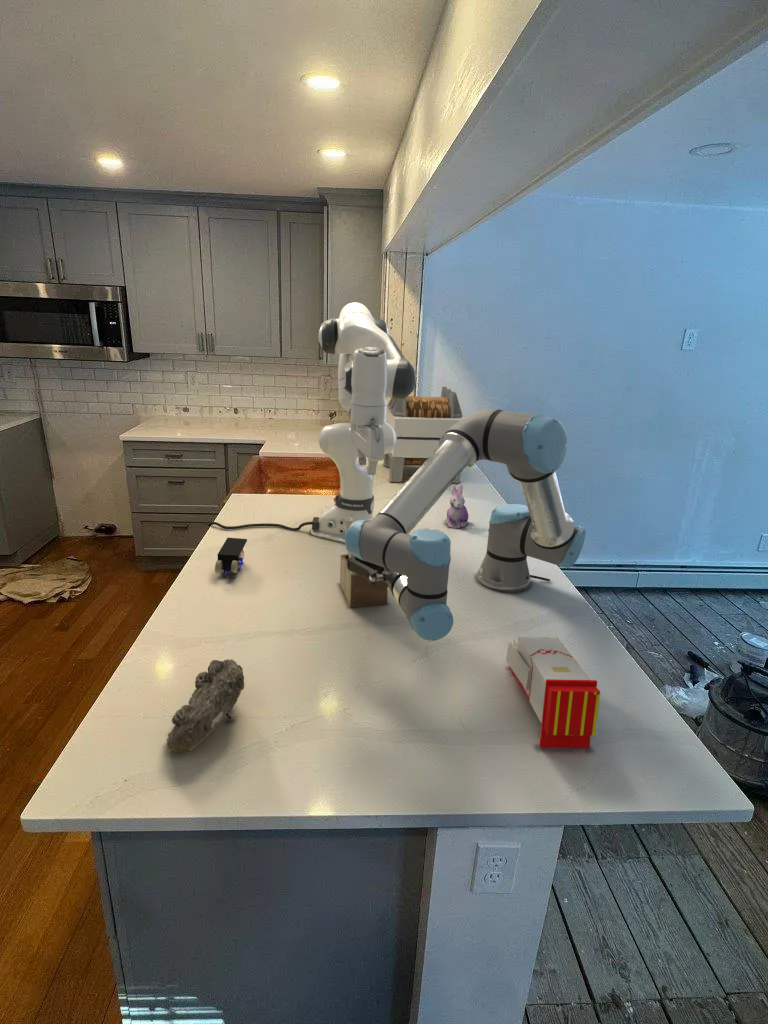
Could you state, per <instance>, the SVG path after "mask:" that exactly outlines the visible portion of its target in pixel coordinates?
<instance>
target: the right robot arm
mask: <svg viewBox="0 0 768 1024" xmlns="http://www.w3.org/2000/svg"><path fill="white" fill-rule="evenodd" d="M567 440H568V439H567V433H566V430H565V427H564V425H563V423H561V422H560V421H559V420H558V419H556V418H554V417H549V416H547V415H543V414H534V413H527V412H526V413H525V412H519V411H513V410H505V409H504V410H503V409H500V408H486V409H482V410H478V411H476V412H473V413H471V414H469V415H467V416H465V417H462V420H460V421H458V422H457V423H456V424H454V425H453V426H452V427H451V428H449V429H448V430H447V431H446V432H445V434H444V435H443V436H442V437H441V438H440V440H439V447H438V448H437V449H436V450H435V451H434V452H433V453H432V454H431V456H430V457H429V458H428V459H427V460H426V461H425V462H424V463H423V464H422V466H419V468H418V469H416V471H415V472H414V473H413V474H412V475H411V476H410V477H409V479H408V480H406V482H405V483H404V484H403V485H402V486H401V487H400V488H399V490H398V491H396V493H395V494H394V495H392V497H391V499H390V500H389V501H388V502H387V503H386V504H385V505H384V506H383V507H382V508H381V509H380V510H379V512H378V513H377V514H376V515H375V516H373V519H372V520H371V521H368V520H358V521H355V522H353V523H352V524H351V525H350V527H349V528H348V530H347V533H346V537H345V543H344V545H345V548H346V550H347V553H348V552H349V553H350V554H351V558H347V569H348V570H350V571H352V572H353V573H355V574H357V575H359V576H361V577H362V578H364V579H366V580H368V581H369V582H370V584H371V585H376V581H380V580H383V581H384V582H386V583H387V585H388V590H389V592H390V593H391V595H392V596H393V597H394V599H395V601H396V602H397V604H398V606H399V608H400V609H401V611H402V612H403V614H404V616H405V617H406V619H407V622H408V624H409V626H410V627H411V629H412V630H413V631H414V632H415V633H416V635H417V636H418V637H419V638H420V639H422V640H424V641H427V642H435V641H439V640H441V639H443V638H445V637H446V636H447V635H448V634H449V633H450V632H451V630H452V628H453V626H454V615H453V613H452V610H451V608H450V607H449V606H448V604H447V602H448V584H449V573H450V566H451V565H450V564H451V561H452V556H451V546H452V544H451V543H452V542H451V538H450V536H449V535H448V534H447V533H445V532H444V531H442V530H440V529H434V528H433V529H432V528H420V529H416V530H414V529H415V528H416V526H417V525H418V524H419V523H420V522H421V521H422V520H423V518H424V517H425V516H426V515H427V514H428V512H430V510H431V509H432V508H433V507H434V505H435V504H436V503H437V502H438V501H439V499H441V497H442V496H443V495H444V494H445V492H447V490H448V489H449V488H450V487H451V486H452V484H454V483H453V482H454V480H455V479H456V478H457V477H458V476H459V475H460V476H461V474H462V472H464V470H465V469H469V468H472V467H473V466H475V464H476V463H477V462H478V461H484V460H485V461H490V462H494V463H499V464H504V465H505V466H506V468H507V472H508V474H509V475H510V477H511V478H512V479H514V480H515V481H517V482H518V484H519V486H520V490H521V492H522V495H523V499H524V502H525V504H521V503H508V504H502V505H499V506H496V507H495V508H493V509H492V511H491V513H490V514H491V515H490V517H489V518H490V519H489V521H488V524H489V526H488V535H487V544H486V552H485V553H486V554H485V555H484V558H483V559H482V562H481V563H480V566H479V568H478V570H477V580H478V582H479V583H480V584H481V585H483V586H484V587H486V588H488V589H491V590H493V591H498V592H503V593H516V592H517V593H519V592H522V591H525V590H526V589H529V587H530V583H531V579H536V580H542V581H546V582H551V579H550V578H546V577H543V576H538V575H534V574H530V569H529V565H528V557H529V558H532V559H536V560H539V561H543V562H545V563H548V564H552V565H556V566H557V567H562V568H565V569H570V568H572V567H573V566H574V565H575V564H576V562H577V560H578V559H579V557H580V555H581V552H582V549H583V546H584V543H585V539H586V533H587V532H586V528H584V527H581V526H580V525H575V521H574V520H573V518H572V516H571V515H570V514H568V513H567V512H566V510H565V505H564V501H563V497H562V493H561V488H560V485H559V481H558V476H557V472H556V471H558V470H559V469H560V468H561V466H562V464H563V463H564V460H565V457H566V452H567V446H566V445H567V442H568V441H567ZM460 473H461V474H460ZM410 533H411V534H410ZM349 553H348V554H349ZM385 568H386V569H385Z"/></svg>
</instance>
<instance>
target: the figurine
mask: <svg viewBox="0 0 768 1024" xmlns="http://www.w3.org/2000/svg"><path fill="white" fill-rule="evenodd" d="M463 490H464V485H463V484H460V485H459V487H457V488H456V487H455V485H452V484H451V485H450V491H451V496H450V499H449V504H450V507H449V508H447V510H446V519H445V524H446V525H447V527H449V528H452V529H453V528H454V529H459V528H464V527H466V525H468V520H469V513H468V509H467V507H466V506H465V503H466V501H465V497H464V494H463Z"/></svg>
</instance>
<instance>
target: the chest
mask: <svg viewBox="0 0 768 1024" xmlns="http://www.w3.org/2000/svg"><path fill="white" fill-rule="evenodd" d="M347 558H349V553H347V554H340V562H339V563H340V564H339V565H340V567H339V568H340V569H339V575H340V576H339V586H340V587H341V589H342V592H343V595H344V596H345V599H346V601H347V604H348V606H349V607H350V608H358V607H368V606H377V605H379V606H380V605H388V590H389V588H388V585H387V583H386V582H384V581H383V580H380V581H376V585H371V584H370V582H369V581H368V580H366V579H364V578H362V577H361V576H359V575H357V574H351V571H350V570H348V569H347Z"/></svg>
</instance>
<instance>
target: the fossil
mask: <svg viewBox="0 0 768 1024" xmlns="http://www.w3.org/2000/svg"><path fill="white" fill-rule="evenodd" d="M243 670H244V669H243V667H242V665H240V664H237V662H236V661H235V660H234V659H232V658H231V659H227V658H226V659H224V660H223V661H222V660H217V659H212V660H211V661H210V663H209V665H208V666H207V671H201V672H199V673H198V674H197V675H196V676H195V680H194V684H195V685H194V687H195V689H194V690H193V693H192V694H191V697H190V698H189V700H188V704H184V705H182V706H181V707H180V709H177V710H176V711H175V713H174V715H173V716H172V718H171V723H172V724H173V727H172V730H171V731H170V732H168V734H167V738H166V741H167V742H166V745H167V749H168V750H169V751H173V752H174V753H176V754H178V753H182V752H188V751H189V752H192V751H193V750H195V748H196V747H197V746H199V744H200V743H201V742H203V741H204V740H205V739H206V738H207V737H208V736H209V735H210V734H211V733H212V732H214V730H215V729H217V727H218V726H219V724H220V722H221V721H222V720H223V719H224V718H225V716H226V717H227V719H229V720H233V717H232V715H230V714H229V710H230V709H231V708H234V706H235V704H236V703H237V702H238V699H239V697H240V695H241V693H242V691H243V690H245V689H244V688H245V675H244V671H243Z"/></svg>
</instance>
